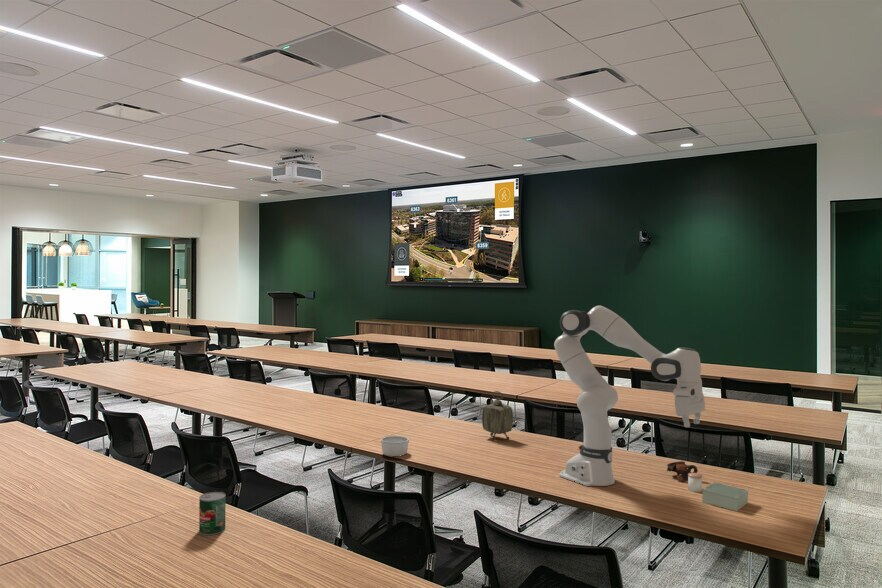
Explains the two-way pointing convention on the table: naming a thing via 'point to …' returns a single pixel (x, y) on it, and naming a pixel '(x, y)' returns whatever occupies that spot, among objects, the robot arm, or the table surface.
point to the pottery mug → (681, 470)
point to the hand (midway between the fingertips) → (692, 425)
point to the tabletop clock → (497, 417)
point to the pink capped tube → (695, 482)
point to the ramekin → (394, 445)
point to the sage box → (725, 496)
